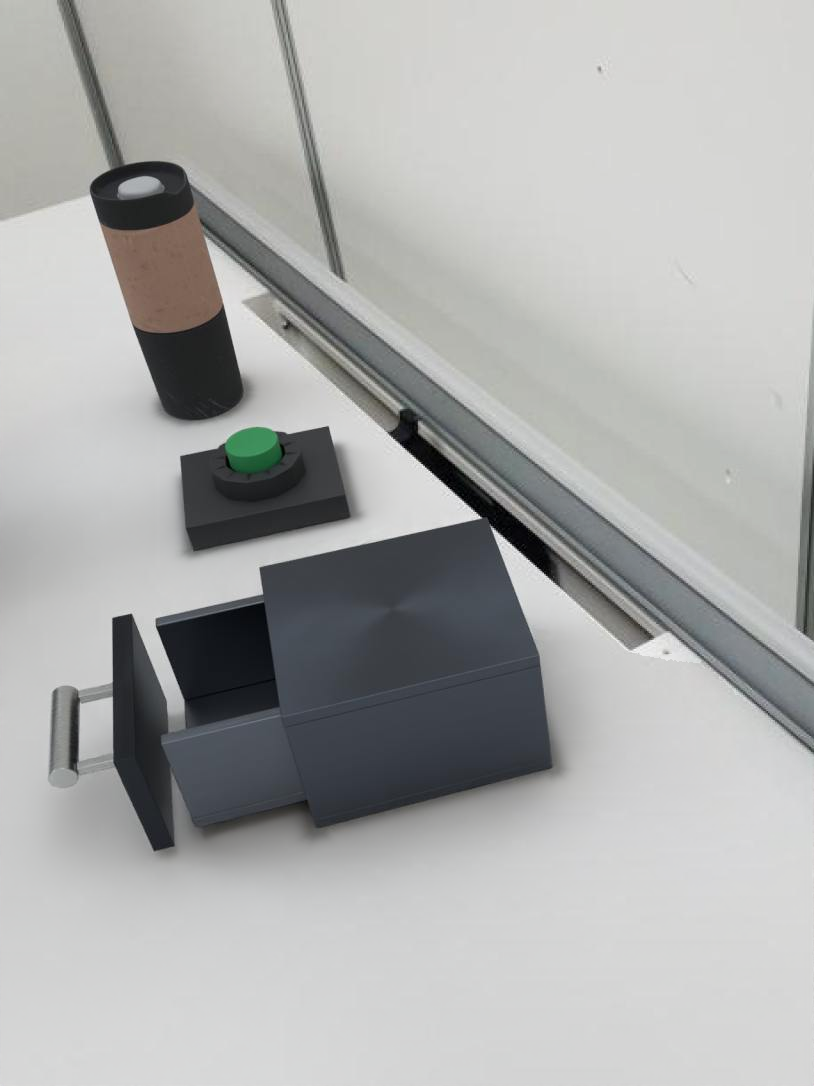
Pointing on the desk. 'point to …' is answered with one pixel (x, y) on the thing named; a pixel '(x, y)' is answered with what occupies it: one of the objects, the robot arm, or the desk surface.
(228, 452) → the button
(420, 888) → the desk surface
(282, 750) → the drawer
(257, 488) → the panel
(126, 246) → the travel mug
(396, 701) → the cabinet
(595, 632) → the desk surface
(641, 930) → the desk surface
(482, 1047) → the desk surface
